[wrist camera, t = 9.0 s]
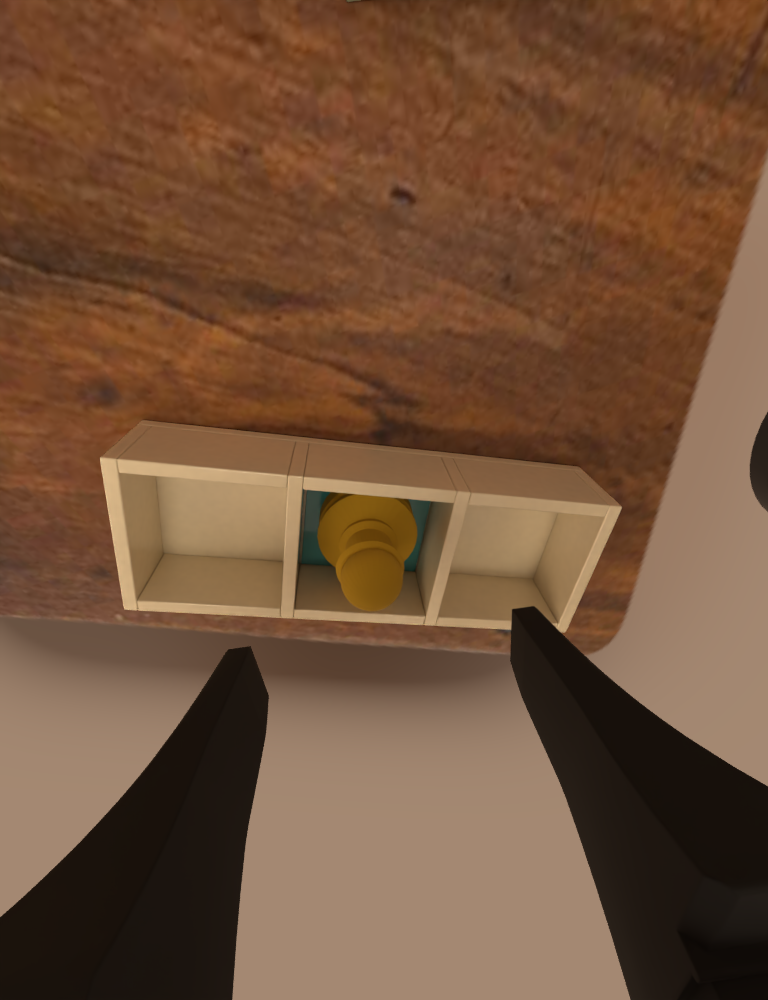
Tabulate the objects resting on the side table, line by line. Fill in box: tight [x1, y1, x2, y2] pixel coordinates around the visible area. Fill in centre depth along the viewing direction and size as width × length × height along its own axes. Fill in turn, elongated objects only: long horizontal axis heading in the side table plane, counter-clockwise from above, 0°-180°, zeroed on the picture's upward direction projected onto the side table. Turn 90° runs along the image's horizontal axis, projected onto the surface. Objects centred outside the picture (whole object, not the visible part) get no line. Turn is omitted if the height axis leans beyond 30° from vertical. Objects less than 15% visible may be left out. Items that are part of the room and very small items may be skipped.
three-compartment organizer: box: [100, 420, 622, 632], centre depth 18 cm, size 18×6×4 cm, turn 82°
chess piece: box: [317, 492, 417, 611], centre depth 17 cm, size 4×4×5 cm
